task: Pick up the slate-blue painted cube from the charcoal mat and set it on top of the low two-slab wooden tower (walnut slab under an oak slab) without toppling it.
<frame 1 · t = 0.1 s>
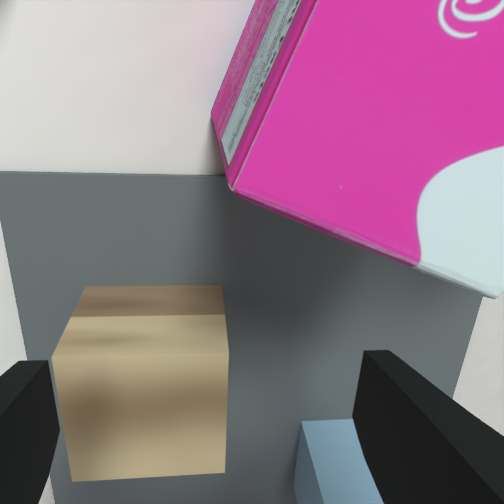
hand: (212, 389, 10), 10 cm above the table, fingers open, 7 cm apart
mat: (256, 397, 24), on the table
supplement box: (302, 75, 17), on the table
slab lower: (157, 341, 21), resting on mat, touching slab upper
slab upper: (152, 376, 19), point 3 cm above the table, touching slab lower
cube: (339, 452, 26), resting on mat
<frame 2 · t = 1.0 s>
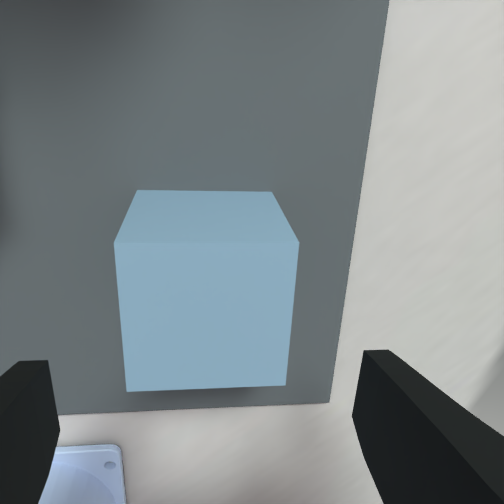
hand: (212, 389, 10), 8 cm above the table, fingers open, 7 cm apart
mat: (63, 145, 16), on the table
cube: (205, 252, 18), resting on mat
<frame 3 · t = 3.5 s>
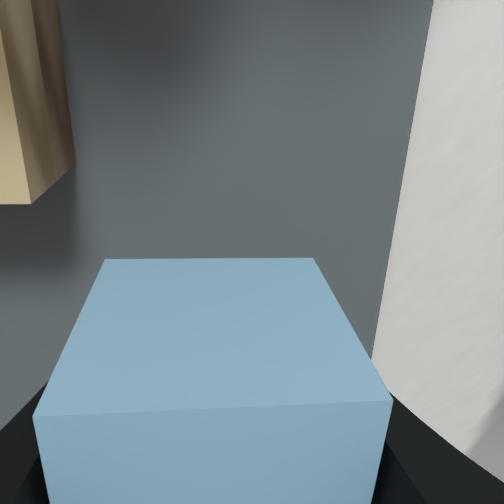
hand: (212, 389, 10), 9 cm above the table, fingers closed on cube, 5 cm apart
mat: (133, 186, 18), on the table
cube: (211, 344, 12), point 8 cm above the table, touching gripper
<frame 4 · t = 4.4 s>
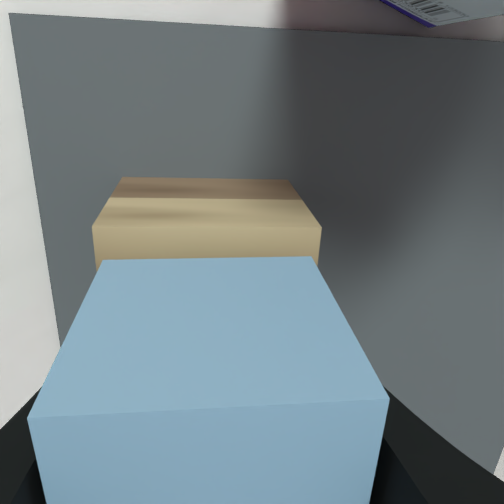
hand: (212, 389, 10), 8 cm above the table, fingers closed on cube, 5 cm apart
mat: (318, 331, 20), on the table
slab lower: (206, 253, 17), resting on mat, touching slab upper
slab upper: (207, 283, 15), point 3 cm above the table, touching slab lower
cube: (210, 344, 12), point 6 cm above the table, touching gripper
when the fingers open (7 cm above the table, at t = 5.0 s): cube stays where it is, resting on slab upper.
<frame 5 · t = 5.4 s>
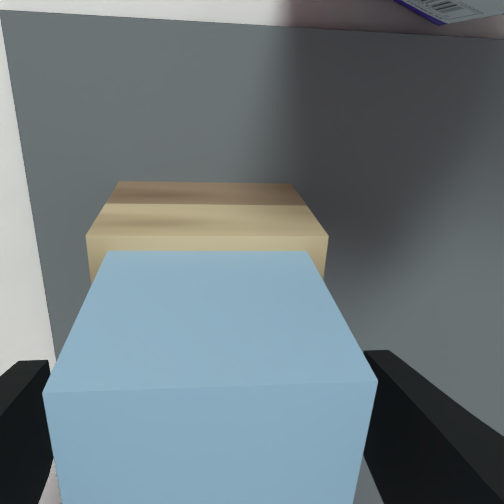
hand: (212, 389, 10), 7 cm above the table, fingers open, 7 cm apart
mat: (322, 340, 19), on the table
slab lower: (206, 259, 17), resting on mat, touching slab upper
slab upper: (208, 292, 14), point 3 cm above the table, touching cube, slab lower
cube: (208, 334, 12), point 5 cm above the table, touching slab upper
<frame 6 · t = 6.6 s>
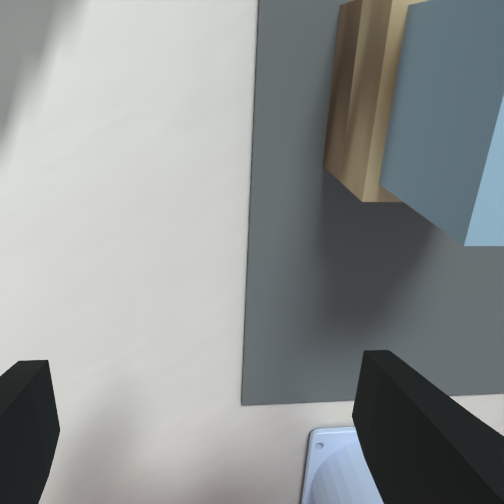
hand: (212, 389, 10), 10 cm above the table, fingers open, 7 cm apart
mat: (487, 189, 20), on the table
slab lower: (402, 93, 18), resting on mat, touching slab upper
slab upper: (432, 99, 16), point 3 cm above the table, touching cube, slab lower
cube: (471, 104, 13), point 5 cm above the table, touching slab upper
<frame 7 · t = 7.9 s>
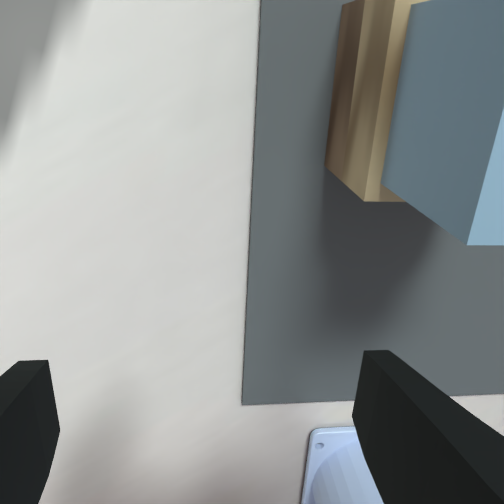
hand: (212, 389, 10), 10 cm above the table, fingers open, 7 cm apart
mat: (488, 189, 20), on the table
slab lower: (404, 93, 18), resting on mat, touching slab upper
slab upper: (434, 99, 16), point 3 cm above the table, touching cube, slab lower
cube: (473, 104, 13), point 5 cm above the table, touching slab upper
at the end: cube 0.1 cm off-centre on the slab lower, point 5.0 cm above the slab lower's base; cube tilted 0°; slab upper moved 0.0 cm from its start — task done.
